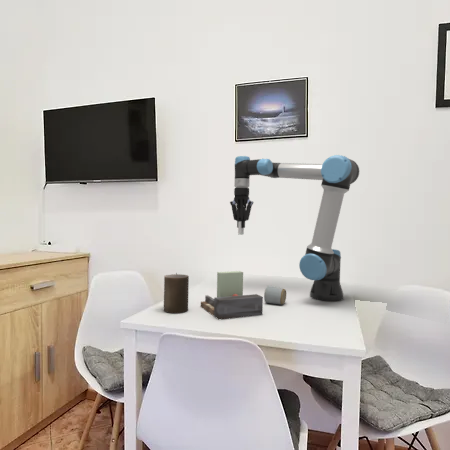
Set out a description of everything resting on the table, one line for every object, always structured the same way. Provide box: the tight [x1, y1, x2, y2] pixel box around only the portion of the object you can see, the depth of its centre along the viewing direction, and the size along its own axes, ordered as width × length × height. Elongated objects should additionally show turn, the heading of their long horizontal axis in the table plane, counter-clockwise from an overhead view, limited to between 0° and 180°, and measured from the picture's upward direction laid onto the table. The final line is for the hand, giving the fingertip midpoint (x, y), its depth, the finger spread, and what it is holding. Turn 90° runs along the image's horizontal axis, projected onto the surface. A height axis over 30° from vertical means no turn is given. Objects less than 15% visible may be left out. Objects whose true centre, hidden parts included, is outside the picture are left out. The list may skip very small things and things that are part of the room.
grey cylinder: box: [263, 285, 287, 306], centre depth 158 cm, size 11×8×8 cm
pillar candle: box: [163, 272, 190, 314], centre depth 143 cm, size 10×10×15 cm
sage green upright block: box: [216, 270, 244, 297], centre depth 145 cm, size 3×10×13 cm, turn 114°
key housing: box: [200, 293, 264, 320], centre depth 144 cm, size 20×18×8 cm
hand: (240, 234), depth 182 cm, fingers closed
